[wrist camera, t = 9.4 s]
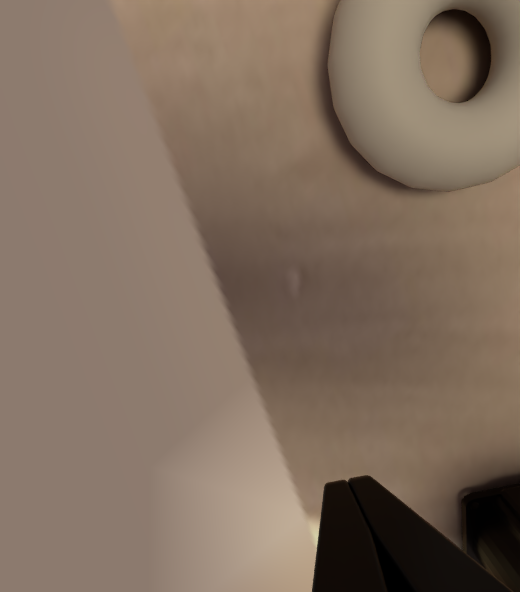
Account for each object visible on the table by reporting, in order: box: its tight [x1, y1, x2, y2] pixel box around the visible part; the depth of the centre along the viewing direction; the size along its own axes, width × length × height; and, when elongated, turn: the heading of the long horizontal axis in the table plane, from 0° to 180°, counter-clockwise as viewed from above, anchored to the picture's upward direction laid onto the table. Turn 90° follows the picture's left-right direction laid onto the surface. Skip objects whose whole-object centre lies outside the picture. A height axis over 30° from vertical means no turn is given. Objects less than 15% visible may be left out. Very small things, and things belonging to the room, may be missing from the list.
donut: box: [327, 0, 520, 192], centre depth 15 cm, size 10×3×10 cm
